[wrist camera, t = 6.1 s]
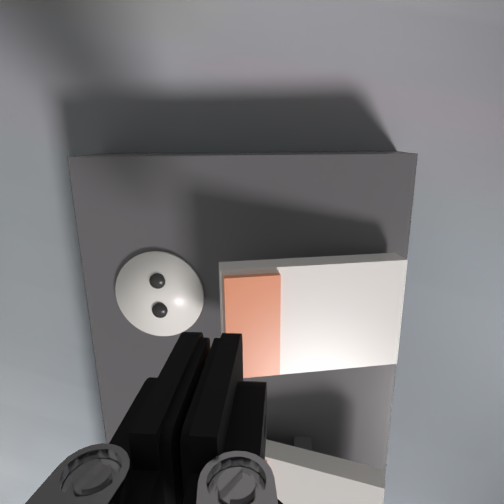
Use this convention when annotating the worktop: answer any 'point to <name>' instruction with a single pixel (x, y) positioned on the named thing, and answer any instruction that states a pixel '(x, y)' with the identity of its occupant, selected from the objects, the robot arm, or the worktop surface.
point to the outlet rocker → (322, 477)
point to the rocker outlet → (314, 311)
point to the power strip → (234, 249)
